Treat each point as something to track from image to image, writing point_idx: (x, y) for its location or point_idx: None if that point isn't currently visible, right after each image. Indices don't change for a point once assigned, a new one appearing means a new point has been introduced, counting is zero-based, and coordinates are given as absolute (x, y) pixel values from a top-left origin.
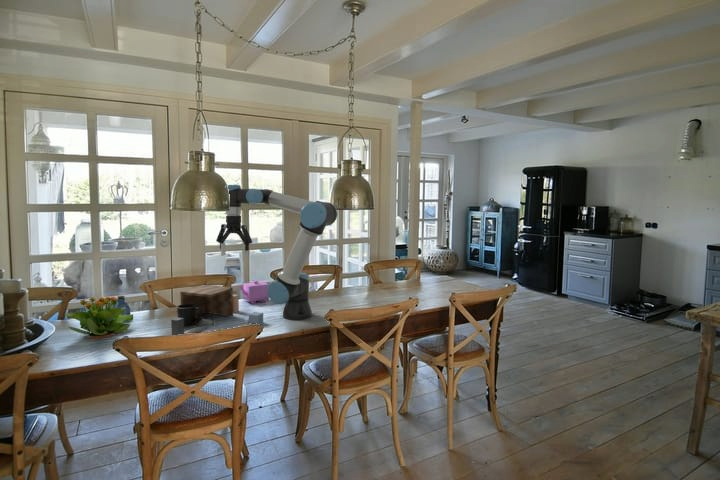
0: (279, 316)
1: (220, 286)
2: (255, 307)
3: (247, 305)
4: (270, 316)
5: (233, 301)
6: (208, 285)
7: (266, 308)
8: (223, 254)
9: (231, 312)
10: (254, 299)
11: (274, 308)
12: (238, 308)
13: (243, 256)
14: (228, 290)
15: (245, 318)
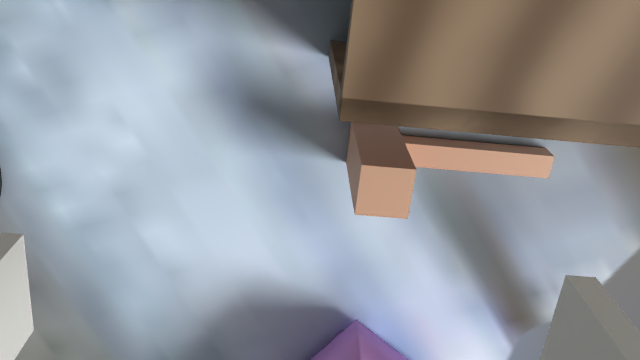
0: (7, 121)
1: (481, 125)
2: (282, 264)
3: (357, 290)
4: (65, 104)
5: (368, 149)
6: (624, 133)
7: (200, 262)
8: (564, 321)
9: (332, 45)
10: (331, 349)
11: (150, 275)
12: (347, 166)
13: (15, 243)
14: (346, 49)
15: (202, 11)
